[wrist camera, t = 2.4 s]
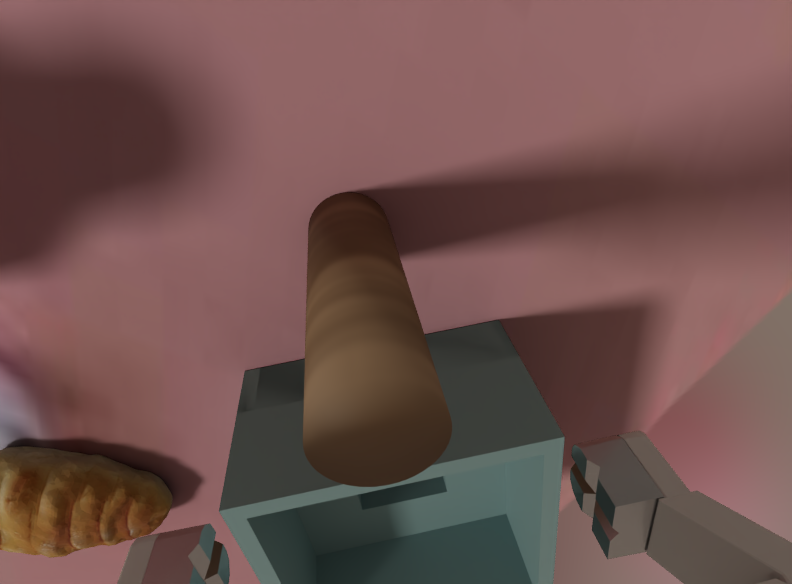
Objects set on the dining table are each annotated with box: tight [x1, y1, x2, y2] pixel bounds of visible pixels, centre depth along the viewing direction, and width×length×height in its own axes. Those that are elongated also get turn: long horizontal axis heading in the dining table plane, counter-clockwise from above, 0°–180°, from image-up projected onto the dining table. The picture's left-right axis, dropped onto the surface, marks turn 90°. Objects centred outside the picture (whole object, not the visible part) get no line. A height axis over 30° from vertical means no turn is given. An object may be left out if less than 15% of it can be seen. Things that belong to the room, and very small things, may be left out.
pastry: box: [0, 447, 172, 557], centre depth 26 cm, size 9×7×4 cm
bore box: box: [219, 320, 565, 584], centre depth 26 cm, size 14×14×8 cm
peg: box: [303, 192, 452, 487], centre depth 17 cm, size 4×4×12 cm
